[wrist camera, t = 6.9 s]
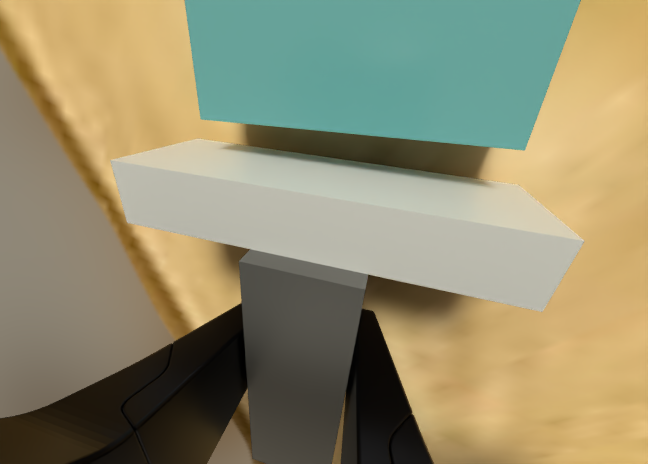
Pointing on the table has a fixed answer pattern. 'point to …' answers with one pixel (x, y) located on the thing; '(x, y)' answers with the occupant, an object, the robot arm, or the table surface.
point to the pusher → (336, 260)
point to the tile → (380, 65)
